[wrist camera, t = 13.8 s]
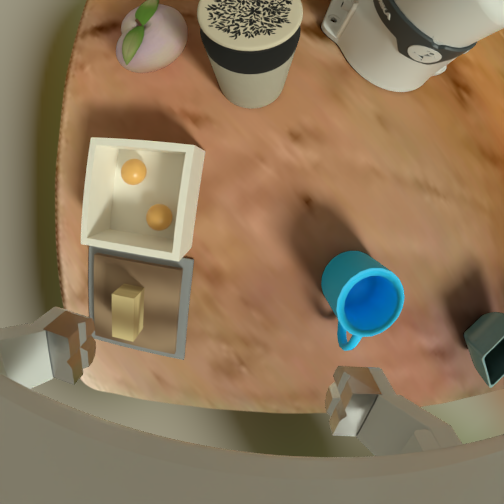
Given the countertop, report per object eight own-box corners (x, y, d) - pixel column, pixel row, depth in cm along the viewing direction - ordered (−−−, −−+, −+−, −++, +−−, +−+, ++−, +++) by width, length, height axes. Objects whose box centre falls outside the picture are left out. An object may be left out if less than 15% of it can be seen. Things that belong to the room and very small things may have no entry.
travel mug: (285, 109, 35) (310, 53, 18) (219, 110, 35) (190, 55, 18) (282, 52, 33) (302, -29, 16) (219, 53, 33) (196, -27, 16)
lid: (97, 252, 39) (79, 261, 34) (183, 268, 39) (173, 280, 34) (98, 332, 42) (83, 348, 37) (176, 350, 42) (167, 370, 37)
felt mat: (90, 241, 39) (89, 241, 39) (193, 259, 39) (193, 259, 39) (91, 336, 42) (90, 337, 42) (184, 358, 43) (183, 359, 42)
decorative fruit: (189, 82, 34) (169, 54, 25) (129, 84, 34) (95, 61, 24) (199, 22, 32) (184, -17, 22) (141, 25, 32) (114, -8, 22)
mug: (329, 245, 39) (347, 261, 31) (385, 256, 39) (412, 273, 31) (307, 330, 42) (318, 362, 34) (361, 336, 42) (380, 366, 34)
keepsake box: (116, 142, 36) (91, 137, 29) (205, 151, 36) (194, 145, 29) (106, 233, 39) (80, 243, 32) (191, 247, 39) (178, 261, 32)
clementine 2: (152, 201, 37) (143, 203, 34) (176, 204, 37) (170, 206, 34) (149, 226, 38) (141, 230, 35) (173, 230, 38) (166, 234, 35)
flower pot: (488, 298, 41) (520, 318, 32) (497, 331, 42) (525, 353, 34) (452, 331, 42) (481, 357, 33) (464, 362, 43) (490, 389, 35)
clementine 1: (128, 158, 36) (118, 156, 33) (151, 160, 36) (143, 159, 33) (125, 183, 37) (114, 184, 33) (148, 186, 37) (139, 186, 34)
